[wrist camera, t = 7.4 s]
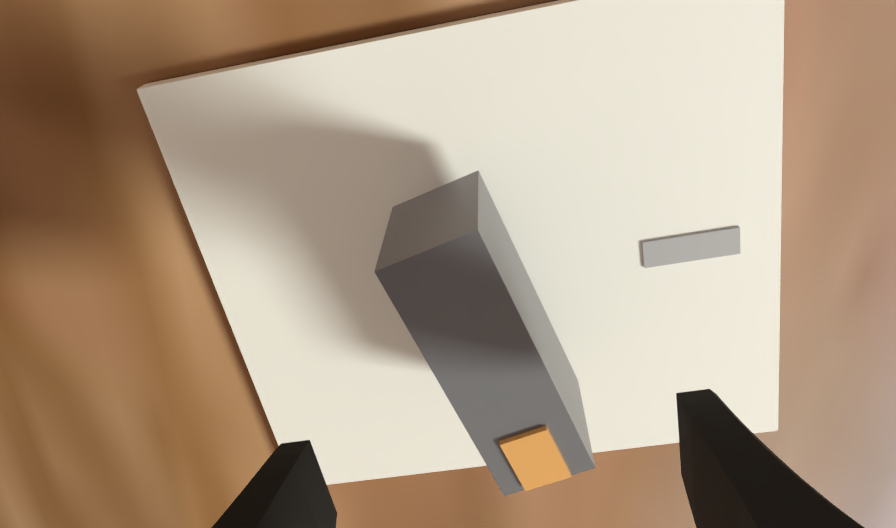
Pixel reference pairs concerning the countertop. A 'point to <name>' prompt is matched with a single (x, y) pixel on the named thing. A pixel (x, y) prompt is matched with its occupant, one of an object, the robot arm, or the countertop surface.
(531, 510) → the countertop surface
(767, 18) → the board
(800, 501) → the robot arm
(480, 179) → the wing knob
